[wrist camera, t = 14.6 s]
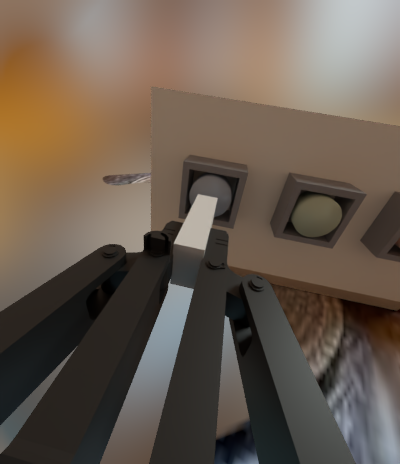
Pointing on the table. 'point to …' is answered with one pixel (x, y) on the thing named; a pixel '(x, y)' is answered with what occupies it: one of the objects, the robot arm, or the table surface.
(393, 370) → the table surface
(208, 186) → the slate button
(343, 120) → the button panel
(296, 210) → the sage button
